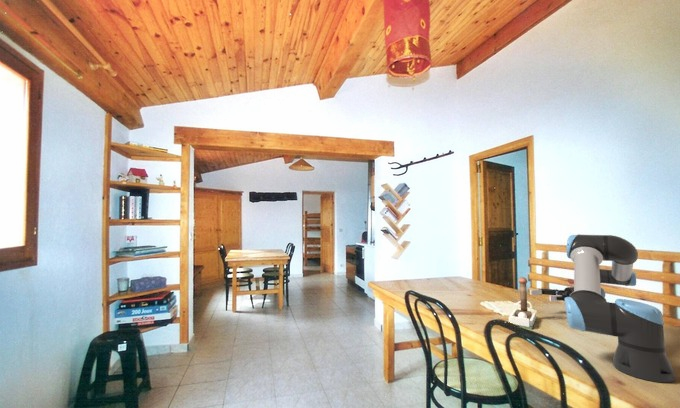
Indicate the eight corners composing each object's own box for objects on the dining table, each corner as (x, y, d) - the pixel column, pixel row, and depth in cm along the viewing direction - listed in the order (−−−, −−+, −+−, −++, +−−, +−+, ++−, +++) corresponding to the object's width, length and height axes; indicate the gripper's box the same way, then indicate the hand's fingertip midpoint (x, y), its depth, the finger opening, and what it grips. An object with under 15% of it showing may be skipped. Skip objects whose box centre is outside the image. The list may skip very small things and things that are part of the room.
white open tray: (531, 329, 145) (531, 319, 146) (508, 325, 151) (507, 316, 152) (536, 319, 161) (535, 310, 161) (514, 315, 167) (514, 307, 167)
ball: (526, 321, 153) (526, 313, 154) (517, 320, 156) (517, 312, 156) (527, 319, 157) (527, 312, 157) (518, 318, 159) (518, 310, 159)
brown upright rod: (531, 318, 157) (529, 278, 159) (516, 316, 161) (514, 277, 163) (532, 316, 161) (530, 277, 163) (517, 314, 165) (516, 276, 167)
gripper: (597, 307, 153) (559, 308, 151) (556, 295, 178) (523, 296, 176) (596, 292, 154) (558, 293, 151) (556, 282, 179) (523, 283, 176)
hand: (539, 295), depth 164 cm, fingers open, 13 cm apart
